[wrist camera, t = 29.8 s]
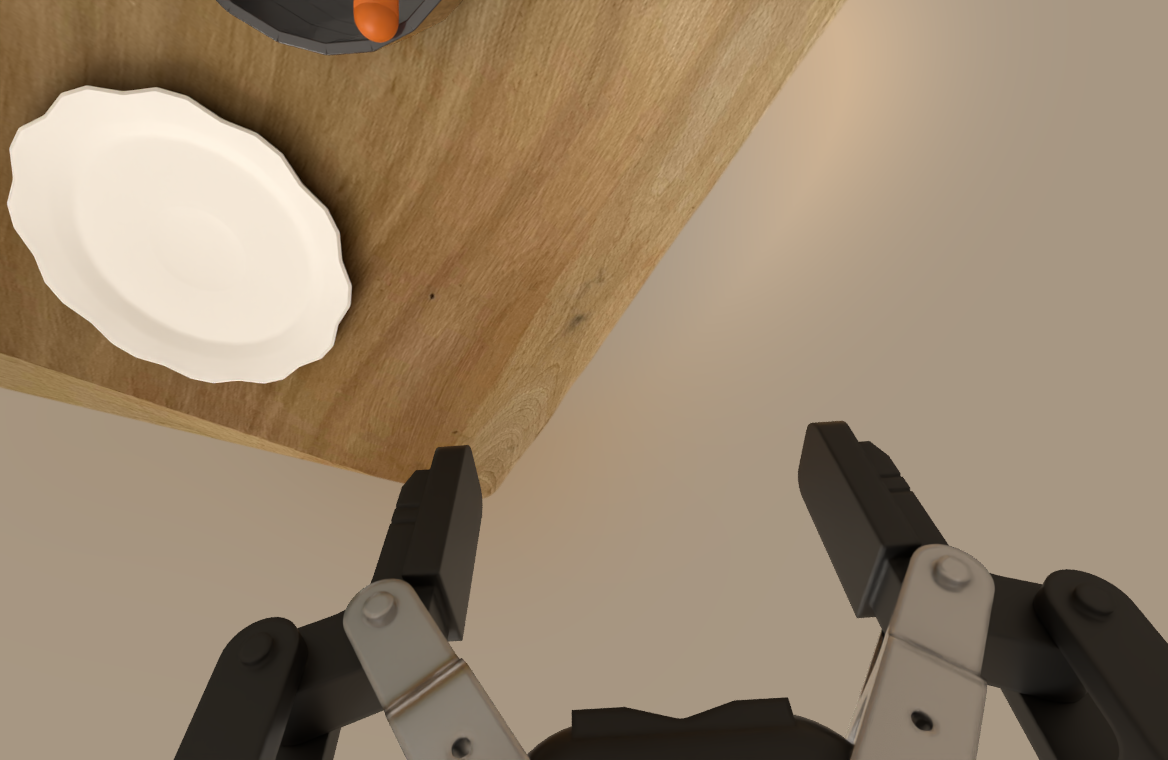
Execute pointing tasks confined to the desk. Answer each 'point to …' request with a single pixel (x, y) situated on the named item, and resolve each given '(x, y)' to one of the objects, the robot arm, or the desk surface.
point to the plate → (178, 234)
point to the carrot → (377, 18)
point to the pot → (332, 22)
